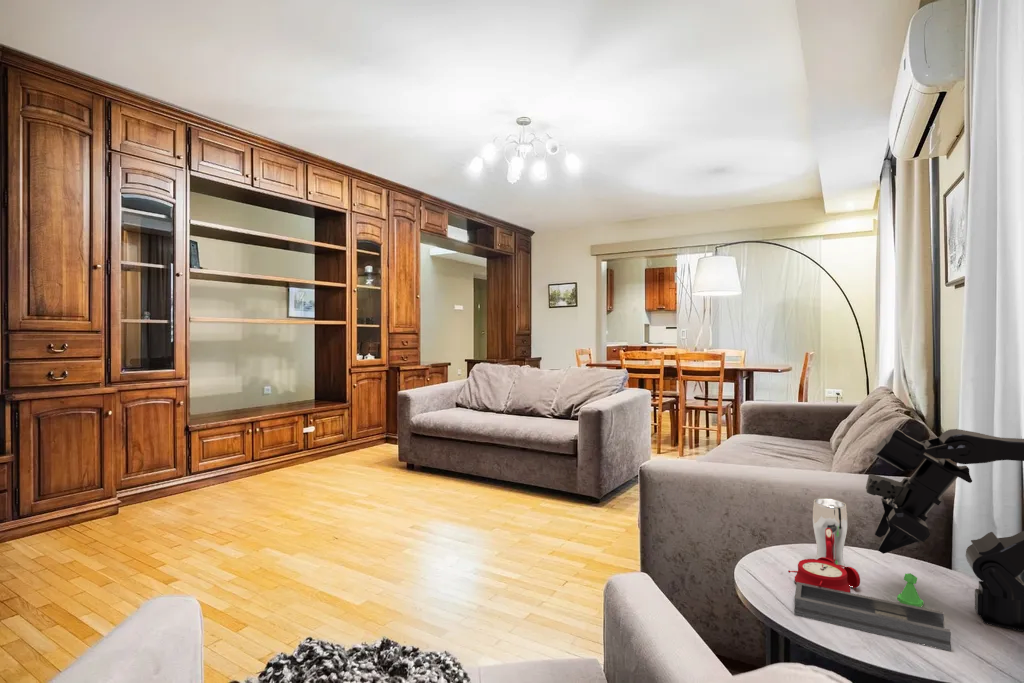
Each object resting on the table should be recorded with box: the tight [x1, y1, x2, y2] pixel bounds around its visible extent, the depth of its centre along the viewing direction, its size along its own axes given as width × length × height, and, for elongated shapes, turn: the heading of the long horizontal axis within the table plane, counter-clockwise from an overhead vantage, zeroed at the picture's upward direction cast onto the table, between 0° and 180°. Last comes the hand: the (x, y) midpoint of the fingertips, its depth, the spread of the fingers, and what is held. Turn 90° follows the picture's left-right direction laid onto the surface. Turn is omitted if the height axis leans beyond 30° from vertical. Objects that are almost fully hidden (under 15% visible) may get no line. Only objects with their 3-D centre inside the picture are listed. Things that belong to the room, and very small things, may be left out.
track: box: [794, 582, 952, 652], centre depth 101 cm, size 24×9×3 cm, turn 59°
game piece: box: [896, 572, 924, 607], centre depth 108 cm, size 4×4×6 cm
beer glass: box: [812, 497, 848, 568], centre depth 124 cm, size 7×7×15 cm
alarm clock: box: [787, 557, 861, 593], centre depth 115 cm, size 10×6×15 cm
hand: (878, 543), depth 110 cm, fingers open, 9 cm apart
